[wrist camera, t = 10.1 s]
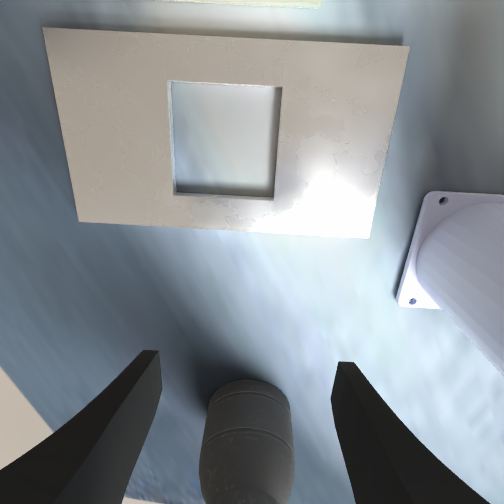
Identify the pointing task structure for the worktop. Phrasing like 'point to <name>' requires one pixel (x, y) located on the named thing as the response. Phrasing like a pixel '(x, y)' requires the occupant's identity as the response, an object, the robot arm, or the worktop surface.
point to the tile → (263, 2)
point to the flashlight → (247, 446)
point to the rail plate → (225, 73)
